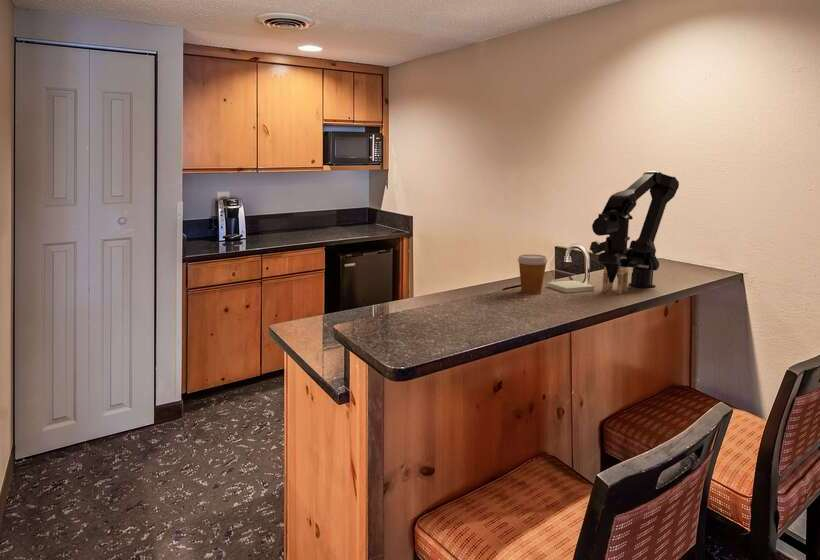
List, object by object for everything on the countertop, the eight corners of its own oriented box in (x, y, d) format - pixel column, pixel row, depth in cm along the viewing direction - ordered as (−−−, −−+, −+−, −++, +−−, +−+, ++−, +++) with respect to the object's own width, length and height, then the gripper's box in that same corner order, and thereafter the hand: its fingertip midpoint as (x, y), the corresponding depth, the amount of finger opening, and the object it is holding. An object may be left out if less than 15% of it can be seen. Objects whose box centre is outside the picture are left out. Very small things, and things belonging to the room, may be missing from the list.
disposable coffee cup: (544, 289, 190) (545, 254, 188) (548, 295, 181) (549, 258, 179) (515, 289, 191) (516, 254, 189) (517, 295, 182) (519, 258, 180)
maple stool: (608, 288, 192) (610, 265, 191) (626, 291, 188) (628, 267, 187) (602, 291, 188) (603, 267, 186) (620, 293, 184) (622, 269, 182)
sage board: (573, 284, 199) (573, 280, 199) (594, 290, 189) (594, 286, 189) (547, 286, 196) (547, 282, 195) (566, 292, 185) (566, 288, 185)
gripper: (604, 230, 197) (601, 274, 199) (583, 234, 182) (580, 282, 185) (637, 232, 190) (634, 278, 192) (617, 236, 175) (614, 286, 178)
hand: (615, 280), depth 187 cm, fingers open, 7 cm apart
